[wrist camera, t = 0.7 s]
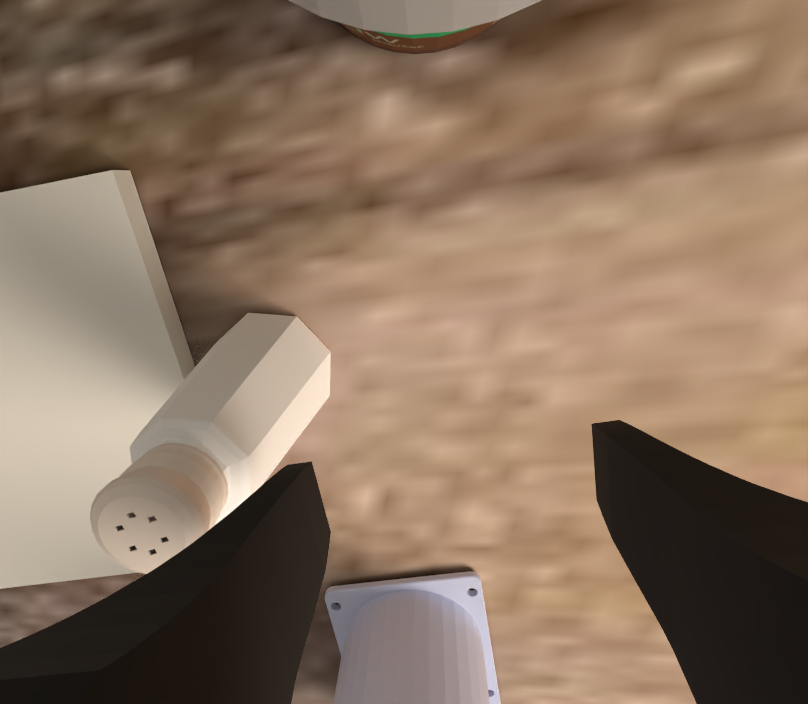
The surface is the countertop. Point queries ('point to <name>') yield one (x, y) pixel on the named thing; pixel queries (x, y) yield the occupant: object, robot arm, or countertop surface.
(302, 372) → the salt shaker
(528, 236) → the countertop surface
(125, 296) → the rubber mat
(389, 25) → the food container
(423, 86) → the countertop surface
